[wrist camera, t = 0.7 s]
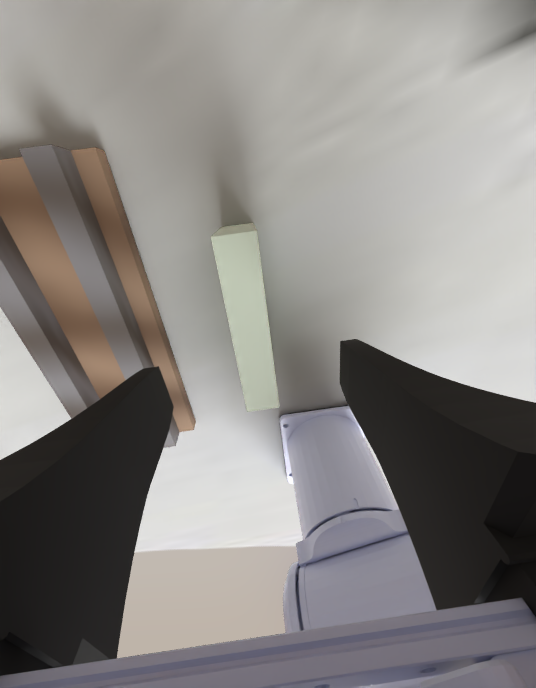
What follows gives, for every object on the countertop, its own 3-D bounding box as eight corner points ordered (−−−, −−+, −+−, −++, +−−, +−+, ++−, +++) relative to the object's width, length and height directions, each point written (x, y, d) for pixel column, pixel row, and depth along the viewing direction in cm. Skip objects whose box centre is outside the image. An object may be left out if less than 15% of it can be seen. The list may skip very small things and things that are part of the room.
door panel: (270, 357, 21) (279, 407, 16) (246, 360, 21) (246, 412, 16) (253, 222, 17) (256, 230, 11) (221, 226, 17) (210, 236, 11)
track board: (195, 421, 24) (190, 443, 21) (96, 435, 24) (80, 459, 21) (104, 150, 14) (78, 140, 12) (-62, 172, 14) (-119, 166, 12)
